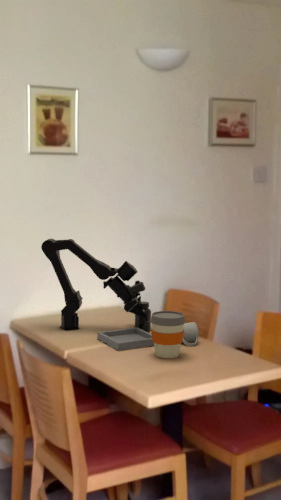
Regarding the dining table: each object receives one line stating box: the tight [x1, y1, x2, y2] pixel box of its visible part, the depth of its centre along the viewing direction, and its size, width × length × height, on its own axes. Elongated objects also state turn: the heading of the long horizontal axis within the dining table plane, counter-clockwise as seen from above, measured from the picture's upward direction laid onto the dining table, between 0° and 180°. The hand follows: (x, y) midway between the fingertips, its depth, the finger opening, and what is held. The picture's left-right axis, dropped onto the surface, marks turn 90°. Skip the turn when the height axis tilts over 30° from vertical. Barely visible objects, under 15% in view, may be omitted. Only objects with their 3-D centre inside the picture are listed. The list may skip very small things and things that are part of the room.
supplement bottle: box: [134, 301, 152, 333], centre depth 268 cm, size 7×7×12 cm
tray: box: [96, 327, 154, 352], centre depth 251 cm, size 18×18×3 cm
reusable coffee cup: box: [150, 310, 186, 359], centre depth 234 cm, size 13×13×15 cm
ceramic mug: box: [181, 321, 199, 347], centre depth 251 cm, size 11×8×8 cm
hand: (146, 315), depth 268 cm, fingers closed on supplement bottle, 7 cm apart
